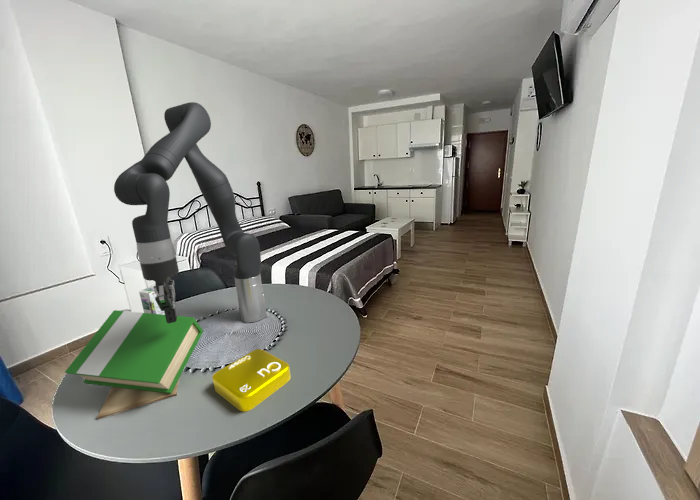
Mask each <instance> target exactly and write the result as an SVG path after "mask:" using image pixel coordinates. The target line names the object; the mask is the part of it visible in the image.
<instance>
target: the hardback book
mask: <svg viewBox="0 0 700 500" xmlns="http://www.w3.org/2000/svg"><path fill="white" fill-rule="evenodd" d="M203 333H204V329H203V328H202V327H201V326H200V324H199V323H198V321H197V320H196V319H195V317H194V316H193V317H191V316H181V315H177V321H176V322H173V323H167V321H166V317H165V315H161V314H150V313H144V312H138V311H137V312H136V311H131V312H128V311H120V310H116V309H115V310H112V312H111V314H110V316H109V315H108V317H107V318H106V319H105V321H104V322H103V323H102V325H101V326H100V327H99V328H98V329H97V331H96V332H95V334H94V335H93V336H92V337H91V339H90V340H89V341H88V342H87V344H86V345H85V346H84V347H83V349H81V351H80V352H79V354H78V355H77V356H76V358H74V360H73V361H72V362H71V364H69V366H68V367H67V369H66V370H65V371H64V373H66V374H69V375H76V376H79V377H81V378H83V379H84V380H83V381H82V383H83V384H85V385H93V386H102V387H103V386H104V387H110V388H112V387H117V388H126V389H135V390H143V391H152V392H160V393H169V394H171V393H172V391H173V389H174V387H175V386H176V384H177V382H178V380H179V381H180V377H181V376H182V374H183V372H184V370H185V368H186V366H187V364H188V363H189V360H190V358H191V357H192V355H193V353H194V350H195V349H196V347H197V345H198V343H199V341H200V339H201V337H202V335H203Z"/></svg>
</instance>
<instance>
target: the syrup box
mask: <svg viewBox="0 0 700 500" xmlns="http://www.w3.org/2000/svg"><path fill="white" fill-rule="evenodd" d="M154 286H155V285H153V286H149V287H146V288H144V289H141V290H139V292H138V294H139V297H140V301H141V306H142V309H143V313H150V314H161V315H165V313H164V311H161V309H160V308H159V306H158V304H157V302H156V300H155V297H157V295H156V293H155V292H154Z"/></svg>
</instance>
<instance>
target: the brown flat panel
mask: <svg viewBox="0 0 700 500" xmlns="http://www.w3.org/2000/svg"><path fill="white" fill-rule="evenodd" d="M179 382H180V379H179V380H178V382H177V384H176V386H175V387H174V389H173V391H172V393H171V394H169V393H160V392H152V391H143V390H135V389H126V388H117V387H110V390H109V392H108V394H107V396H106V399H105V401H104V403H103V404H102V406H101V409H100V411H99V413H98V415H97V416H96V417H97V420H101V419H105V418H107V417H111V416H114V415H116V414H120V413H124V412H127V411H129V410H134V409H137V408H140V407H142V406H146V405H150V404H152V403H157V402H159V401H164V400H166V399H169V398H173V397H176V396H177V394H178V387H179Z"/></svg>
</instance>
